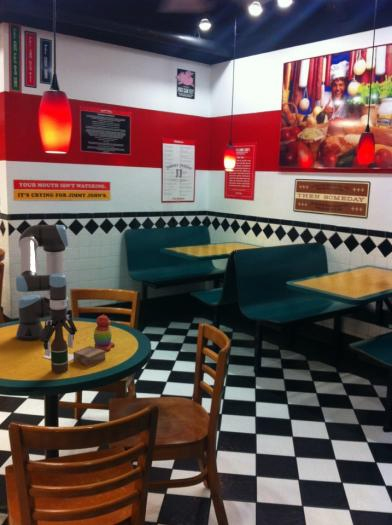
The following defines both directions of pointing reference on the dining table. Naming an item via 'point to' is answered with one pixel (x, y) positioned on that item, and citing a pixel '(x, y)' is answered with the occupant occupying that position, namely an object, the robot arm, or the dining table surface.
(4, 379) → the dining table surface
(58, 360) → the beer bottle
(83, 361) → the walnut base brick
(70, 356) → the page
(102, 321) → the stacking bear
